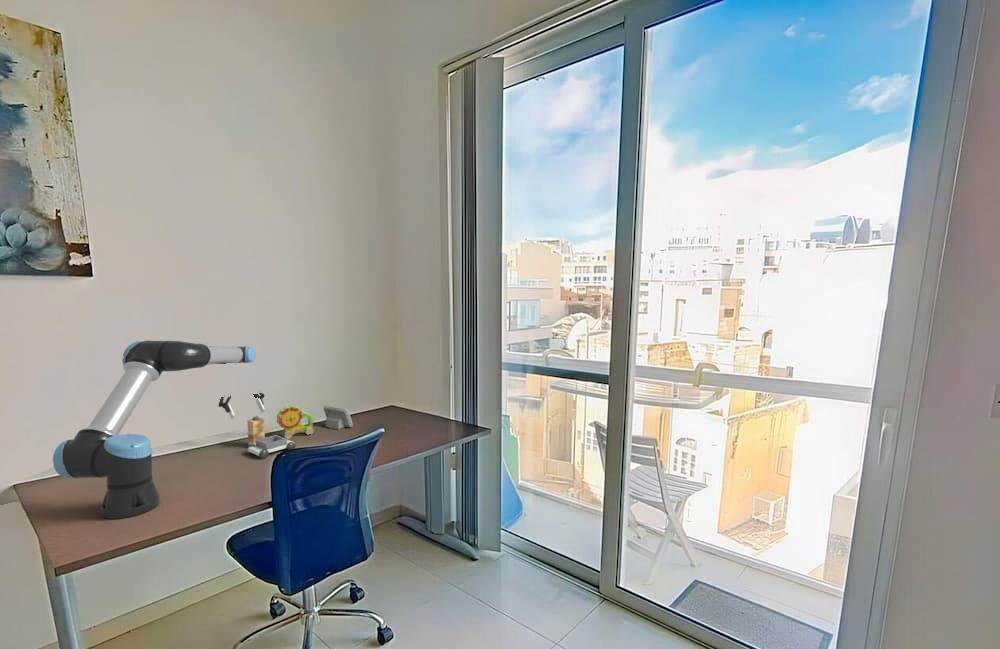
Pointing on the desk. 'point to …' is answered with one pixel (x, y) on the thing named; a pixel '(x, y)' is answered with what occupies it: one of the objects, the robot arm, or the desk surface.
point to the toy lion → (293, 421)
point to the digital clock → (337, 417)
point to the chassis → (270, 445)
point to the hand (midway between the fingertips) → (248, 414)
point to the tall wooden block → (255, 430)
